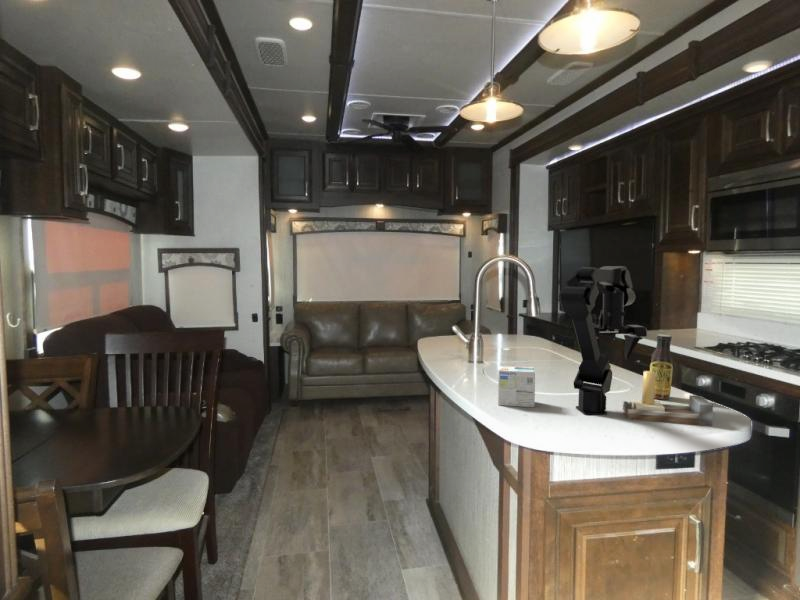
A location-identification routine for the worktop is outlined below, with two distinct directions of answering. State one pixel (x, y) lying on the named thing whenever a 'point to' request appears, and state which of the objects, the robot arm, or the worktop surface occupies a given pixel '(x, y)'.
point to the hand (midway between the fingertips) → (611, 359)
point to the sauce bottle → (662, 367)
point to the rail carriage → (648, 395)
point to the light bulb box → (516, 386)
